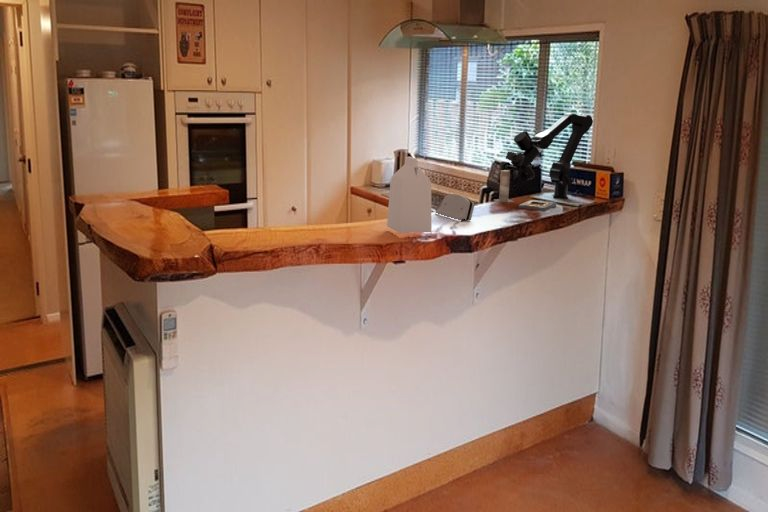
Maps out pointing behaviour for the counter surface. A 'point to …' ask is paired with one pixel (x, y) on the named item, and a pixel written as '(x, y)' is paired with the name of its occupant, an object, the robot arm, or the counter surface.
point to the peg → (504, 185)
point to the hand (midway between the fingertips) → (504, 183)
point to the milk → (409, 199)
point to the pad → (504, 201)
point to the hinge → (456, 207)
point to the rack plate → (537, 205)
